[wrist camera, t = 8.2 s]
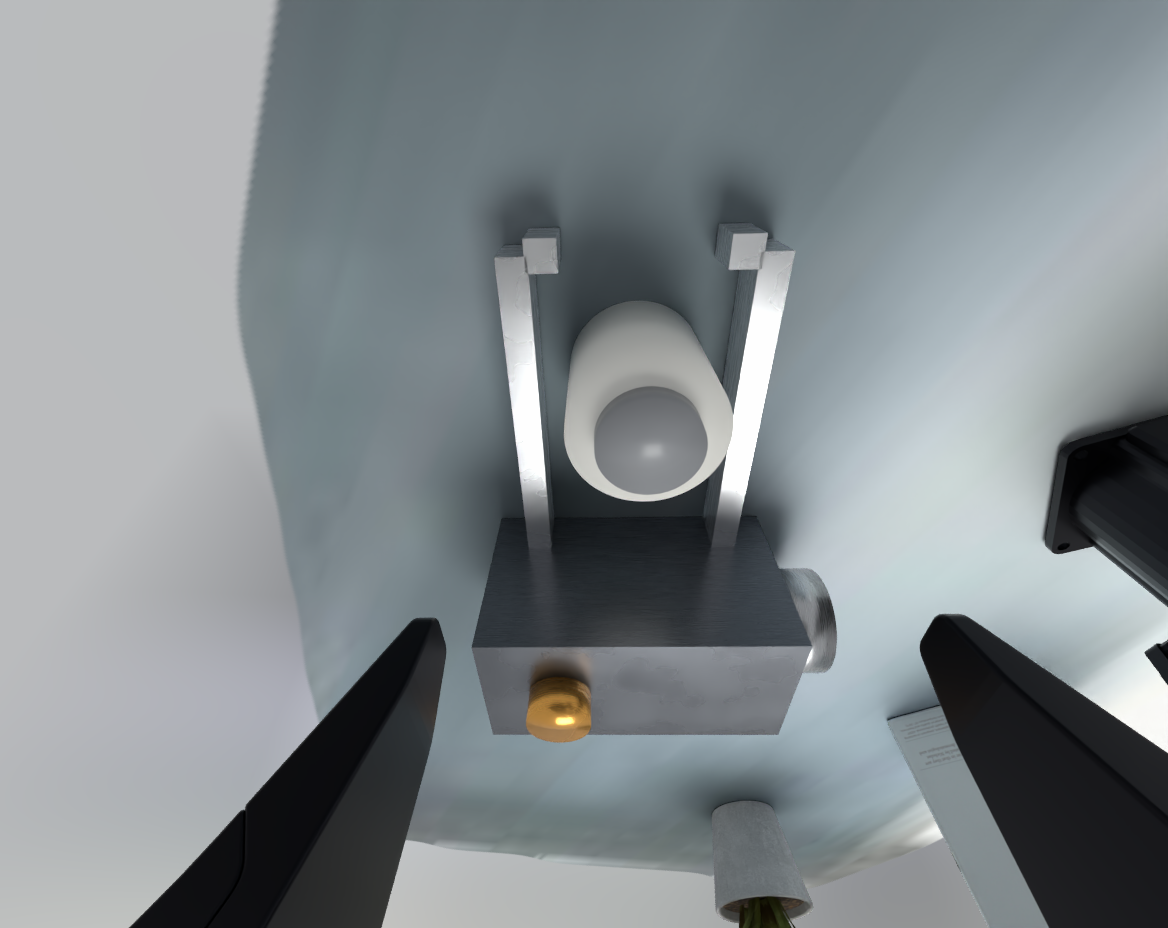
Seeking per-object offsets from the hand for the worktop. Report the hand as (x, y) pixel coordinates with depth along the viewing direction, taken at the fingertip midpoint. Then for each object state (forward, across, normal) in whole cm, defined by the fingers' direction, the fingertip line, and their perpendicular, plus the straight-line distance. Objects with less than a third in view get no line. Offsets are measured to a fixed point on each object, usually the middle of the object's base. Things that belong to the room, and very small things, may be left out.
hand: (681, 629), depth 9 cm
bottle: (+12, 0, 0) cm, 12 cm away
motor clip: (+12, -1, +4) cm, 13 cm away
